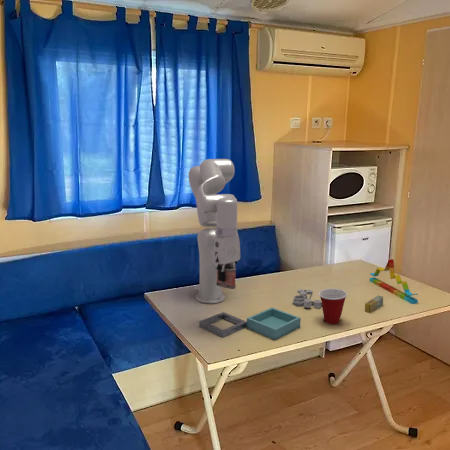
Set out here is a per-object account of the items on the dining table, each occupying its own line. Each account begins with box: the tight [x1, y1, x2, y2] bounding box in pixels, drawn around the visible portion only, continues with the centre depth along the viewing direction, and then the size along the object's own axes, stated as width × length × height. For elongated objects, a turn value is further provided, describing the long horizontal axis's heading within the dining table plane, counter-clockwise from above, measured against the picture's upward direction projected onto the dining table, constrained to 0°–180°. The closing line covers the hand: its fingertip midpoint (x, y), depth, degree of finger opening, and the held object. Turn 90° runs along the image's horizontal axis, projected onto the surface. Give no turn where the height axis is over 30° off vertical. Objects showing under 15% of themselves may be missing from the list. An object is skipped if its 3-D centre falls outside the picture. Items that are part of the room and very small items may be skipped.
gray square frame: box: [198, 311, 247, 338], centre depth 182 cm, size 13×13×2 cm
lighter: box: [216, 262, 237, 290], centre depth 178 cm, size 8×3×10 cm, turn 57°
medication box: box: [364, 295, 384, 314], centre depth 201 cm, size 12×3×4 cm, turn 138°
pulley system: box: [292, 288, 322, 310], centre depth 207 cm, size 27×5×15 cm
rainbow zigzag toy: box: [369, 259, 419, 305], centre depth 219 cm, size 30×3×15 cm, turn 19°
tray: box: [246, 307, 301, 341], centre depth 182 cm, size 14×15×4 cm
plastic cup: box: [318, 288, 348, 325], centre depth 187 cm, size 11×11×12 cm
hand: (226, 279), depth 178 cm, fingers closed on lighter, 3 cm apart
